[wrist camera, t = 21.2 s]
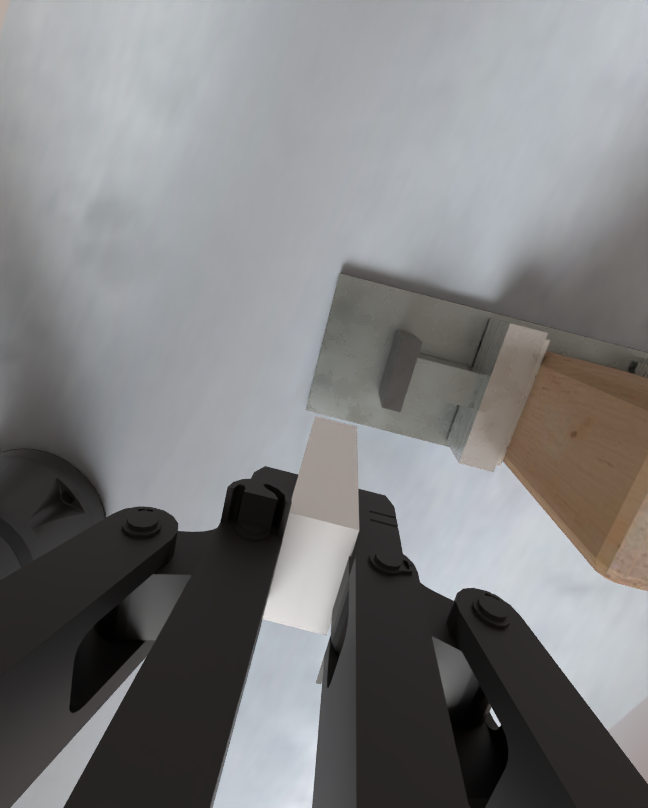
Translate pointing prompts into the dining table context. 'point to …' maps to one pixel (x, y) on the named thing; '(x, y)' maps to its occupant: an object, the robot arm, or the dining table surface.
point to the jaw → (471, 387)
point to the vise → (441, 337)
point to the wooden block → (589, 461)
